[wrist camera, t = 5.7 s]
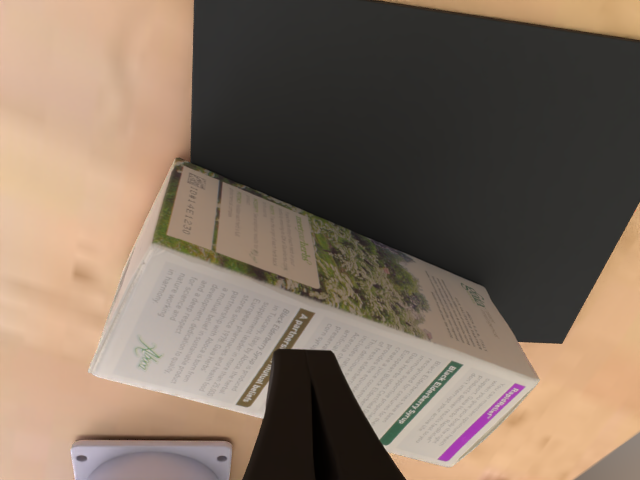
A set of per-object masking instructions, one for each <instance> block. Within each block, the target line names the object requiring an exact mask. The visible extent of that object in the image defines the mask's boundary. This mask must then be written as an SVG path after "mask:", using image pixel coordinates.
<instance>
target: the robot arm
mask: <svg viewBox="0 0 640 480" xmlns="http://www.w3.org/2000/svg"><path fill="white" fill-rule="evenodd" d="M71 458H72V464H73V470H74V476H75V480H229V478H230V468H231V458H232V444H231V443H229V442H227V441H179V440H78V441H75V442H74V443H73V444H72V447H71ZM242 480H406V479H405V477H404V476H403V475H402V473H401V472H400V470H399V469H398V467H397V466H396V464H395V463H394V461H393V460H392V458H391V457H390V455H389V454H388V452H387V451H386V449H385V448H384V446H383V445H382V443H381V441H380V440H379V438H378V437H377V435H376V433H375V432H374V430H373V428H372V426H371V425H370V423H369V421H368V420H367V418H366V416H365V414H364V413H363V411H362V409H361V407H360V406H359V404H358V402H357V400H356V398H355V396H354V394H353V392H352V390H351V388H350V387H349V385H348V383H347V380H346V378H345V376H344V374H343V372H342V370H341V368H340V366H339V363H338V361H337V359H336V356H335V354H334V353H333V352H332V351H331V350H306V349H277V350H276V351H274V352H273V357H272V364H271V371H270V378H269V385H268V392H267V399H266V409H265V414H264V418H263V421H262V425H261V428H260V432H259V435H258V438H257V440H256V443H255V446H254V449H253V452H252V455H251V458H250V461H249V464H248V466H247V469H246V471H245V474H244V477H243V479H242Z"/></svg>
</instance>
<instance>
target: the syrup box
mask: <svg viewBox="0 0 640 480" xmlns="http://www.w3.org/2000/svg"><path fill="white" fill-rule="evenodd" d="M277 349H306V350H331V351H332V352H333V353H334V354H335V356H336V359H337V361H338V363H339V366H340V368H341V370H342V372H343V374H344V376H345V378H346V380H347V383H348V385H349V387H350V388H351V390H352V392H353V394H354V396H355V398H356V400H357V402H358V404H359V406H360V407H361V409H362V411H363V413H364V414H365V416H366V418H367V420H368V421H369V423H370V425H371V426H372V428H373V430H374V432H375V433H376V435H377V437H378V438H379V440H380V441H381V443H382V445H383V446H384V448H385V449H386V451H387V452H389V453H393V454H397V455H401V456H404V457H408V458H412V459H416V460H420V461H424V462H428V463H432V464H436V465H440V466H444V467H452V466H454V465H455V464H456V463H457V462H459V461H460V460H461V459H462V458H464V457H465V456H466V455H467V454H469V453H470V452H471V451H472V450H473V449H475V448H476V447H477V446H478V445H479V444H480V443H481V442H483V441H484V440H485V439H486V438H487V437H488V436H489V435H490V434H491V433H492V432H493V431H494V430H495V429H497V427H498V426H499V425H500V424H501V423H502V422H503V421H504V420H505V419H506V418H507V417H508V416H509V415H510V414H511V413H512V412H513V411H514V410H515V409H516V408H517V407H518V405H519V404H520V403H521V402H522V401H523V400H524V399H525V397H526V396H527V395H528V394H529V393H530V392H531V391H532V390H533V389H534V387H535V386H536V385H537V384H538V382H539V381H540V379H539V377H538V375H537V374H536V372H535V371H534V369H533V367H532V365H531V364H530V362H529V360H528V359H527V357H526V355H525V353H524V352H523V350H522V348H521V346H520V345H519V343H518V341H517V339H516V337H515V336H514V334H513V332H512V330H511V329H510V328H509V326H508V324H507V323H506V321H505V320H504V318H503V317H502V315H501V314H500V313H499V311H498V310H497V308H496V307H495V305H494V304H493V302H492V301H491V299H490V296H489V294H488V292H487V291H486V288H484V287H483V286H481V285H479V284H476V283H474V282H472V281H469V280H467V279H464V278H462V277H460V276H457V275H455V274H453V273H450V272H448V271H446V270H443V269H441V268H439V267H436V266H434V265H432V264H429V263H427V262H425V261H422V260H420V259H418V258H415V257H413V256H410V255H408V254H406V253H403V252H401V251H399V250H396V249H394V248H391V247H389V246H387V245H384V244H382V243H379V242H377V241H375V240H372V239H370V238H367V237H365V236H363V235H360V234H358V233H356V232H353V231H351V230H349V229H346V228H344V227H342V226H339V225H337V224H335V223H332V222H330V221H328V220H325V219H323V218H320V217H318V216H315V215H313V214H311V213H308V212H306V211H304V210H302V209H299V208H297V207H295V206H292V205H290V204H288V203H285V202H283V201H280V200H278V199H276V198H273V197H271V196H268V195H266V194H264V193H262V192H260V191H257V190H254V189H252V188H250V187H247V186H245V185H242V184H239V183H237V182H234V181H232V180H230V179H228V178H225V177H223V176H221V175H218V174H216V173H214V172H211V171H209V170H206V169H204V168H202V167H200V166H197V165H195V164H192V163H190V162H188V161H185V160H183V159H181V158H175V160H174V162H173V163H172V166H171V168H170V170H169V172H168V174H167V176H166V178H165V181H164V183H163V185H162V187H161V189H160V191H159V193H158V195H157V197H156V199H155V201H154V203H153V205H152V207H151V209H150V212H149V214H148V216H147V218H146V220H145V222H144V224H143V227H142V229H141V231H140V233H139V235H138V237H137V240H136V242H135V244H134V246H133V248H132V251H131V253H130V255H129V257H128V260H127V262H126V264H125V266H124V269H123V271H122V275H121V278H120V281H119V284H118V287H117V290H116V293H115V296H114V299H113V302H112V305H111V308H110V311H109V314H108V317H107V320H106V323H105V326H104V329H103V332H102V335H101V338H100V341H99V344H98V347H97V350H96V353H95V355H94V357H93V359H92V361H91V364H90V366H89V369H88V373H92V374H93V375H94V376H96V377H99V378H103V379H107V380H111V381H115V382H119V383H123V384H127V385H131V386H135V387H139V388H144V389H148V390H152V391H157V392H161V393H165V394H169V395H173V396H177V397H181V398H185V399H189V400H193V401H197V402H201V403H204V404H208V405H212V406H216V407H220V408H224V409H228V410H232V411H235V412H239V413H243V414H247V415H251V416H255V417H258V418H262V419H263V418H264V414H265V409H266V399H267V392H268V385H269V378H270V371H271V364H272V357H273V352H274V351H276V350H277Z"/></svg>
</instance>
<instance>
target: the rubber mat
mask: <svg viewBox="0 0 640 480" xmlns="http://www.w3.org/2000/svg"><path fill="white" fill-rule="evenodd" d="M190 163H192V164H195V165H197V166H200V167H202V168H204V169H206V170H209V171H211V172H214V173H216V174H218V175H221V176H223V177H225V178H228V179H230V180H232V181H234V182H237V183H239V184H242V185H245V186H247V187H250V188H252V189H254V190H257V191H260V192H262V193H264V194H266V195H268V196H271V197H273V198H276V199H278V200H280V201H283V202H285V203H288V204H290V205H292V206H295V207H297V208H299V209H302V210H304V211H306V212H308V213H311V214H313V215H315V216H318V217H320V218H323V219H325V220H328V221H330V222H332V223H335V224H337V225H339V226H342V227H344V228H346V229H349V230H351V231H353V232H356V233H358V234H360V235H363V236H365V237H367V238H370V239H372V240H375V241H377V242H379V243H382V244H384V245H387V246H389V247H391V248H394V249H396V250H399V251H401V252H403V253H406V254H408V255H410V256H413V257H415V258H418V259H420V260H422V261H425V262H427V263H429V264H432V265H434V266H436V267H439V268H441V269H443V270H446V271H448V272H450V273H453V274H455V275H457V276H460V277H462V278H464V279H467V280H469V281H472V282H474V283H476V284H479V285H481V286H483V287H484V288H486V291H487V292H488V294H489V296H490V299H491V301H492V302H493V304H494V305H495V307H496V308H497V310H498V311H499V313H500V314H501V315H502V317H503V318H504V320H505V321H506V323H507V324H508V326H509V328H510V329H511V330H512V332H513V334H514V336H515V337H516V339H517V341H518V342H533V343H557V344H562V343H563V341H564V339H565V337H566V336H567V334H568V332H569V330H570V328H571V326H572V325H573V323H574V321H575V319H576V317H577V315H578V314H579V312H580V310H581V308H582V306H583V305H584V303H585V301H586V299H587V297H588V295H589V294H590V292H591V290H592V288H593V286H594V284H595V283H596V281H597V279H598V277H599V275H600V273H601V272H602V270H603V268H604V266H605V264H606V263H607V261H608V259H609V257H610V255H611V253H612V252H613V250H614V248H615V246H616V244H617V242H618V241H619V239H620V237H621V235H622V233H623V231H624V230H625V228H626V226H627V224H628V222H629V221H630V219H631V217H632V215H633V213H634V211H635V210H636V208H637V206H638V204H639V202H640V40H633V39H627V38H620V37H614V36H607V35H600V34H594V33H587V32H581V31H574V30H568V29H561V28H554V27H548V26H541V25H535V24H528V23H521V22H515V21H508V20H502V19H495V18H489V17H482V16H475V15H469V14H462V13H456V12H449V11H442V10H436V9H429V8H423V7H416V6H410V5H403V4H396V3H390V2H383V1H377V0H194V29H193V72H192V115H191V158H190Z"/></svg>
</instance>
